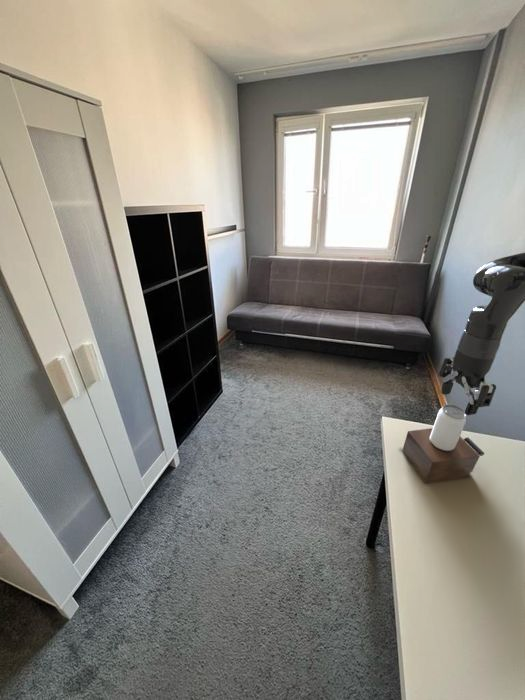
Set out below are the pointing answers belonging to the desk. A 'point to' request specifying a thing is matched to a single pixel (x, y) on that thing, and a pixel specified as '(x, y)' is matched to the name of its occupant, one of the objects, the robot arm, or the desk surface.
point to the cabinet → (438, 457)
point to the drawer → (474, 446)
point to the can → (448, 427)
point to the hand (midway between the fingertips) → (456, 403)
